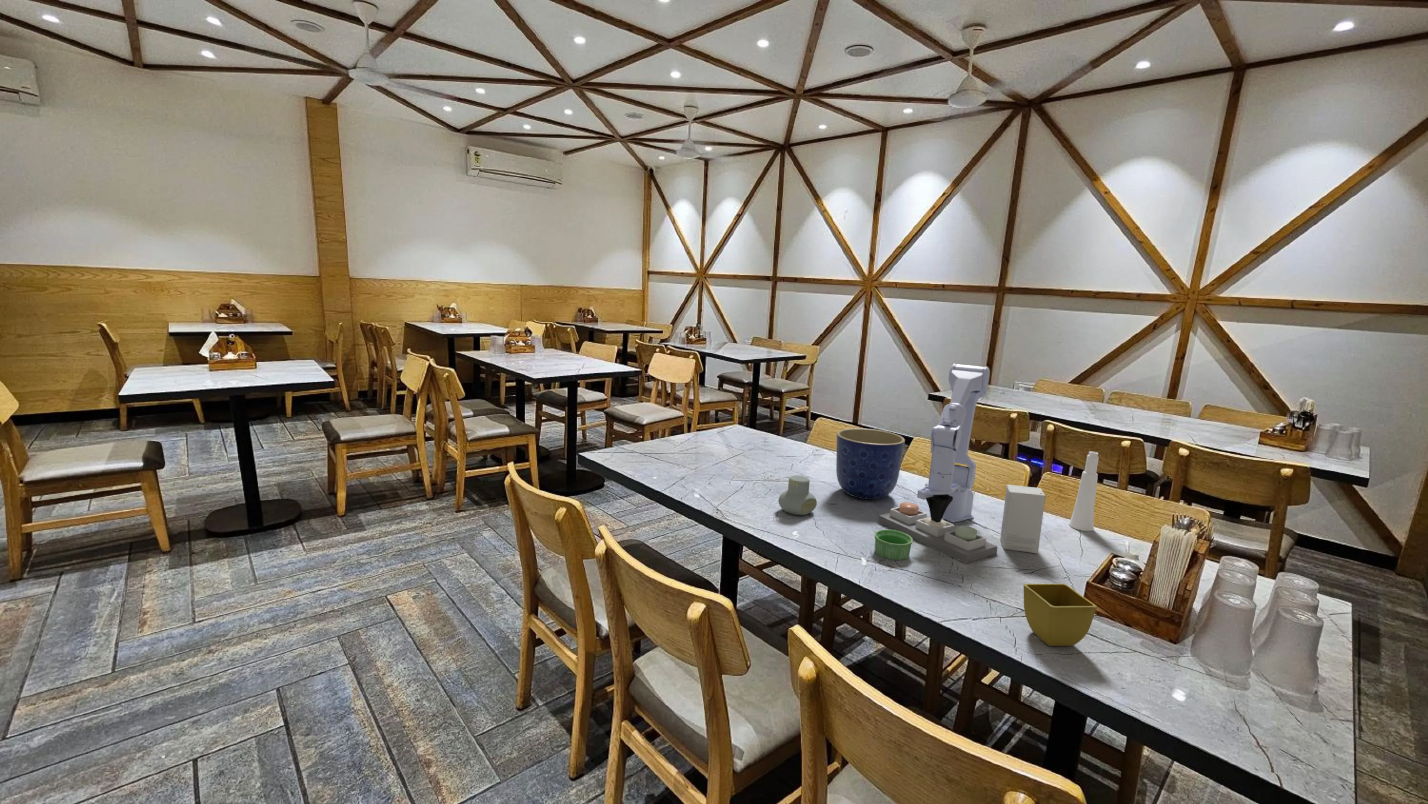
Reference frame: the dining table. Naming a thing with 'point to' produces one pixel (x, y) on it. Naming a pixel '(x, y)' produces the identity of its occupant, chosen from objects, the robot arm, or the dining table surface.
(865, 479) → the planter
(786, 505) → the air freshener
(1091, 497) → the cosmetic bottle
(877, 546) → the ramekin
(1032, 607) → the flower pot
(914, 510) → the terracotta button
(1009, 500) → the skincare box
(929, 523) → the cream button
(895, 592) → the dining table surface
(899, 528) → the button panel
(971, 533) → the sage button
